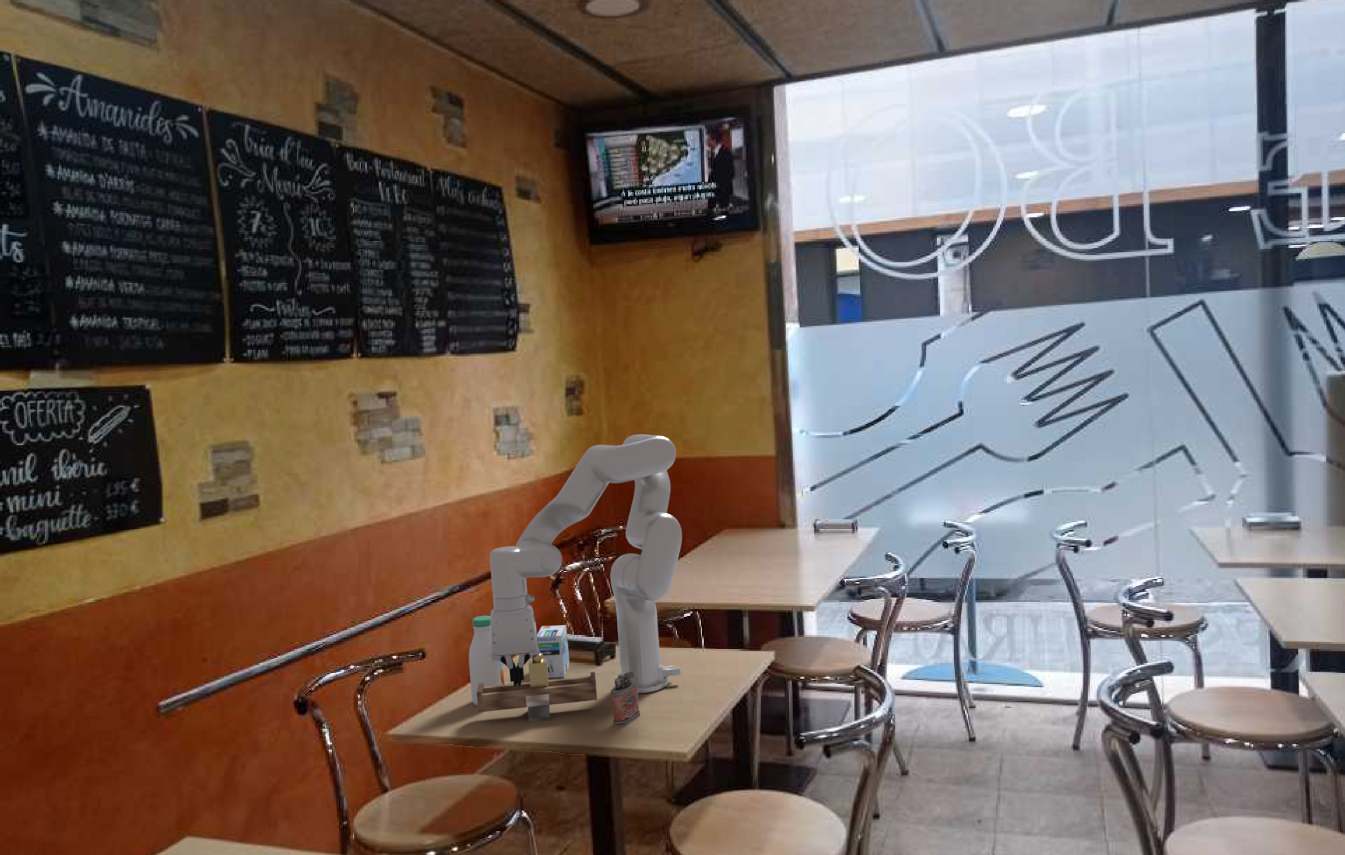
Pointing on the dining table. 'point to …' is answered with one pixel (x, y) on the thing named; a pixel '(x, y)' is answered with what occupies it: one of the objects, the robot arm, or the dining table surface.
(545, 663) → the rider
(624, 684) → the lighter
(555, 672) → the light bulb box
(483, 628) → the milk bottle
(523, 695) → the beam
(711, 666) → the dining table surface
